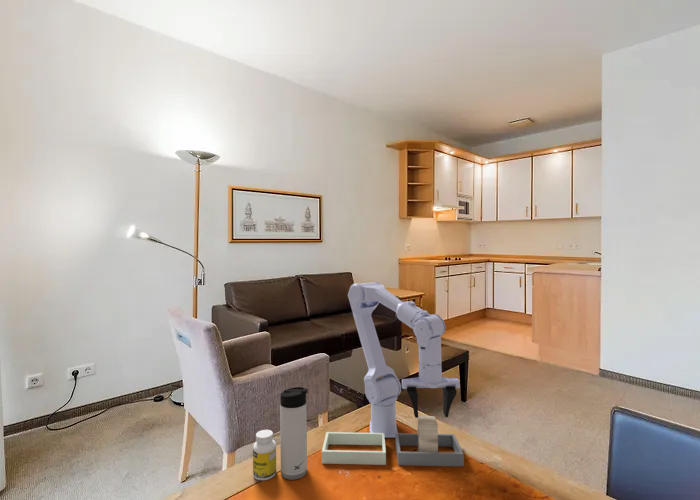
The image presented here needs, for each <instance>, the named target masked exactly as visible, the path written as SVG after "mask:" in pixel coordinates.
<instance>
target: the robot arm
mask: <svg viewBox="0 0 700 500" xmlns="http://www.w3.org/2000/svg"><path fill="white" fill-rule="evenodd" d="M347 298H348V300H349V304H350V308H351V312H352V317H353V319H354V323H355V326H356V330H357V333H358V337H359V341H360V344H361V347H362V348H361V349H362V351H363V354H364V359H365V361H366V364H367V369H368V370H367V373H366V374H365V376H364V377H363V383H364V393H365V397H366V399H367V400H368V403H370V418H371V419H370V421H369V433H384V436H385V438H386V439H387V438H388V439H390V438H391V439H392V438H393V439H394V438H395V433H399V432H398V427H397V420H396V419H397V417H396V413H397V412H396V411H397V410H396V405H397V404H396V402H397V400H398V396H399V395H400V394H401V392H402V390H406V392H407V394H408V397H409V398H410V402H411V405H412V410H413V415H414V417H415V418H418V416H419V408H418V407H419V405H418V404H419V402H418V401H419V393H418V390H417V389H429V388H430V389H440V388H441V389H442V397H443V398H442V400H443V403H442V404H443V405H442V411H443V415H444V417H445V418H449V414H450V409H451V407H452V404H453V401H454V399H455V398H456V396H457V393H458V392H457V390H456V389H460V388H461V387H460V382H461V381H460V379H458V377H457V378H456V377H444V376H443V377H442V375H443V374H442V371H443V369H442V336H443V335H444V334H445V332H446V323H445V321H444V319H443V317H441V315H439V314H436V313H433V314H430V313H429V311H427V310H424V309H422V308H420V307H419V306H417V305H416V302H415V301H412V300H411V301H409V300H408V301H407V300H406V301H402V300H401V299H399V298H398V297H397V296H396V295H394V294H393V293H392V292H390V291H389V290H388V289H386V286H385V285H384V284H382V283H381V282H379V281H373V282H363V283H361V282H360V283H357V282H356V283H352V284H351V285H350V287H349V290H348V293H347ZM379 303H380V304H381V305H383V306H384V307H386V308H387V309H390V310H391V311H393V312H395V314H396V318H397V319H398V320H399V321H400V322H402V324H404V325H406V326H408V327H409V328H410V329H412V331H413V334H414V335H415V338H416V344H417V346H418V376H417V377H413V378H412V377H411V378H410V377H409V378H402V379H401V382H400V379H399V378H398V377H397V375H396V373H395V370H394V369H393V368H391V367H390V366H388V365H387V364H386V360H385V357H384V354H383V353H384V352H383V350H382V347H381V343H380V340H379V337H378V334H377V330H376V326H375V324H374V321H373V317H372V313H373V312H374V310H376V308H377V307H378V305H379Z"/></svg>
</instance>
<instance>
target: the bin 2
mask: <svg viewBox="0 0 700 500" xmlns="http://www.w3.org/2000/svg"><path fill="white" fill-rule="evenodd" d="M401 446H404V447H405V446H406V447H407V446H408V447H410V446H412V447H418V432H415V433H412V432H411V433H409V432H408V433H404V432H398V433H395V453H396V459H397V466H424V467H425V466H426V467H427V466H429V467H430V466H431V467H464V466H465V461H464V459H465V457H464V452H463V450H462V447H461V445H460V443H459V440H458V438H457V436H456V435H455V433H438V447H452V448H453V451H454V452H453V451H451V452H450V451H449V452H446V451H443V452H442V451H438V452H418V451H403V450H402V451H401Z"/></svg>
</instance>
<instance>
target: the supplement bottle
mask: <svg viewBox="0 0 700 500" xmlns="http://www.w3.org/2000/svg"><path fill="white" fill-rule="evenodd" d="M276 474H277V442H276V441H275V440H274V432H273V431H272V430H270V429H262V430H259V431H257V432H256V433H255V442H254V443H253V446H252V476H253V478H254V479H256V480H257V481H268V480H270V479H272V478H274V477H275V475H276Z"/></svg>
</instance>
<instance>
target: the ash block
mask: <svg viewBox="0 0 700 500" xmlns="http://www.w3.org/2000/svg"><path fill="white" fill-rule="evenodd" d="M438 427H439V426H438V422H437V420H436V417H435V415H434V416H431V415H430V416H429V415H426V416H425V415H420V416H419V415H418V418H417V434H418V446H417V452H439V446H438V434H439V433H438V432H439V429H438Z"/></svg>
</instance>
